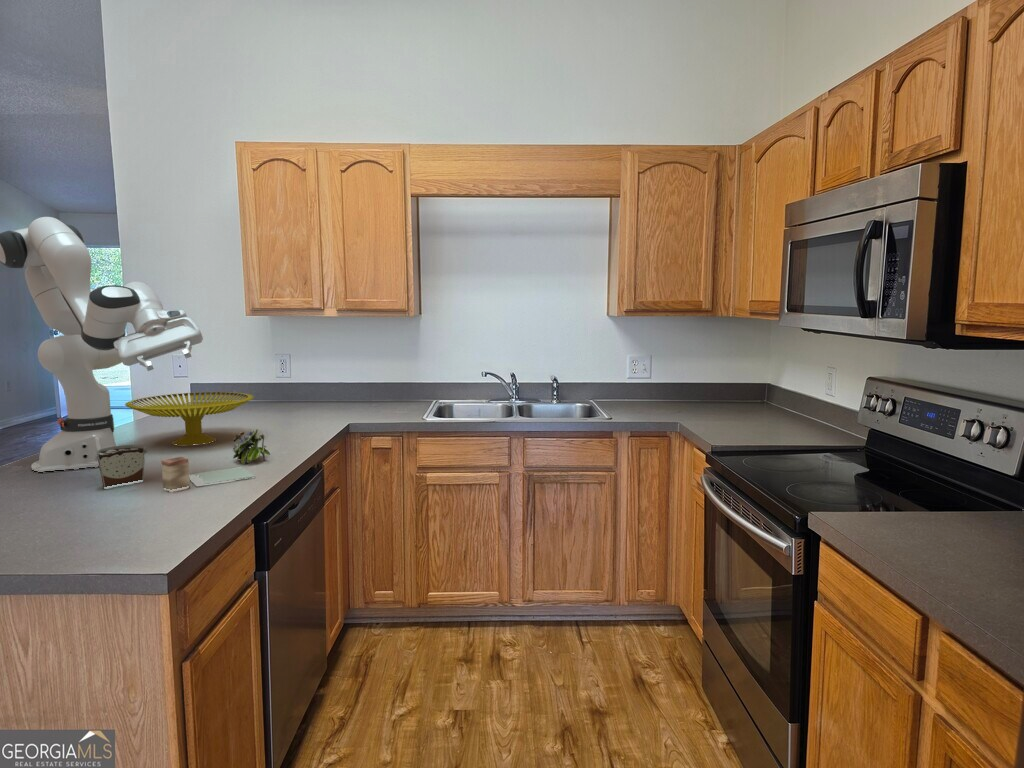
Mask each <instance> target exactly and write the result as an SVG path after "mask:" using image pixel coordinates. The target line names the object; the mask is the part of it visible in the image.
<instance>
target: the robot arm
mask: <svg viewBox="0 0 1024 768" xmlns="http://www.w3.org/2000/svg"><path fill="white" fill-rule="evenodd" d="M0 263H1V264H2V265H3V266H5V267H7V268H8V269H23V268H25V270H24V278H25V281H26V285H27V288H28V291H29V293H30V295H31V298H32V300H33V302H34V304H35V306H36V308H37V311H38V312H39V314H40V316H41V318H42V320H43V321H44V323H45V324H46V325H47V326H48V327H49V328H51V329H53V330H54V331H57V332H59V333H61V335H59V336H55V337H50V338H48V339H45V340H44V341H42V342H41V343H40V345H39V346H38V349H37V359H38V361H39V364H40V365H41V367H42V368H43V369H45V370H46V371H48V372H49V373H51V374H53V376H54V377H55V378H56V379H57V380H58V382H59V383H60V386H61V388H62V389H63V392H64V397H65V404H66V412H67V417H65V418H63V417H61V418H58V419H57V424H58V426H59V427H60V431H59V432H58V433H57V434H56V435H54V436H53V437H51V438H50V439H49V440H48V441H46V442H45V443H44V444H43V445H42V446H41V448H40V451H39V457H38V459H39V460H36V461H34V462H33V463H31V465H30V469H31V468H32V470H34V471H38V472H43V471H54V470H64V471H66V470H65V469H74V470H80V469H79V468H85V469H87V468H86V467H95V468H98V467H97V466H99V463H98V458H97V461H95V456H96V453H97V451H98V450H100V449H103V448H108V447H113V446H117V444H116V441H115V434H114V432H115V421H114V416H113V414H112V411H111V399H110V391H109V388H108V387H106V386H105V385H104V384H102V383H99V382H98V381H97V380H96V378H95V375H94V372H93V371H97V370H103V369H104V370H105V369H106V370H107V369H110V368H113V367H116V366H118V365H120V364H123V366H126V367H131V366H133V365H136V364H139V365H140V366H142V367H144V368H146V370H147V372H149V371H152V370H154V369H155V368H154V367H153V363H152V362H151V359H155V358H157V357H161V356H164V355H167V354H171V353H173V352H176V351H179V350H182V352H183V355H184V357H185V359H189V358H192V354H191V352H192V349H193V347H192V346H195V345H198V344H200V343H202V342H203V340H204V338H203V333H202V332H201V330H200V328H199V326H198V325H197V324H196V322H195V321H194V319H192V318H191V317H189V316H188V315H187V313H186V312H185V310H184V309H175V310H165V309H164V306H163V303H162V301H161V299H160V297H159V296H158V295H157V293H156V292H155V290H154V289H153V288H152V287H150V286H149V285H148V284H146V283H144V282H142V281H130V282H129V283H125V285H123V286H122V285H116V284H111V285H103V286H100V287H96V288H94V289H93V290H91V275H92V274H91V273H92V257H91V255H90V252H89V249H88V247H87V245H86V244H85V240H84V237H83V236H82V233H81V232H80V231H79V229H77V228H76V227H75V226H74V225H70V224H65V223H64V222H63V221H61V220H59V219H57V218H55V217H52V216H42V217H38V218H36V219H34V220H32V222H31V223H30V224H29V225H28V227H24V228H20V229H16V230H15V229H14V230H6V231H2V232H0ZM128 323H130V324H131V325H132V327H133V329H134V332H133V333H130V334H127V335H126V329H127V326H128V325H127V324H128ZM149 360H150V361H149ZM32 470H31V471H32ZM34 471H33V472H34ZM38 472H37V473H38ZM54 472H55V471H54ZM43 473H44V472H43Z"/></svg>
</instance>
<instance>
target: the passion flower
mask: <svg viewBox="0 0 1024 768" xmlns="http://www.w3.org/2000/svg"><path fill="white" fill-rule="evenodd" d="M258 430H259V429H258V428H256V429H255V431H250V432H249V433H248V434H246V435H245V431H240V432H239V434H236V435H235V437H234V438H233V442H234V443H235V442H236V441H237V443H235V445H234V446H233V448H232V453H234V455H233V457H232V458H233V459H236V458H237V460H238V459H241V460H240V462H241V464H242V465H244V464H246V462H247V464H248V463H251V462H252V461H256V460H257V459H258V458H259V457H260V456H261V455H262V457H263V460H264V459H265V456H266V455H267V456H268V455H270V456H271V452H270V451H268V449H266V448H267V445H264V442H265V435H264V434H263V433H260V434H259V435H258V437H257V433H258V432H259V431H258ZM243 435H245V436H243ZM242 436H243V437H242ZM239 439H240V440H239ZM261 441H262V443H261V446H259V445H258V444H259V442H261ZM258 446H259V447H258ZM265 460H266V459H265Z"/></svg>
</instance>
